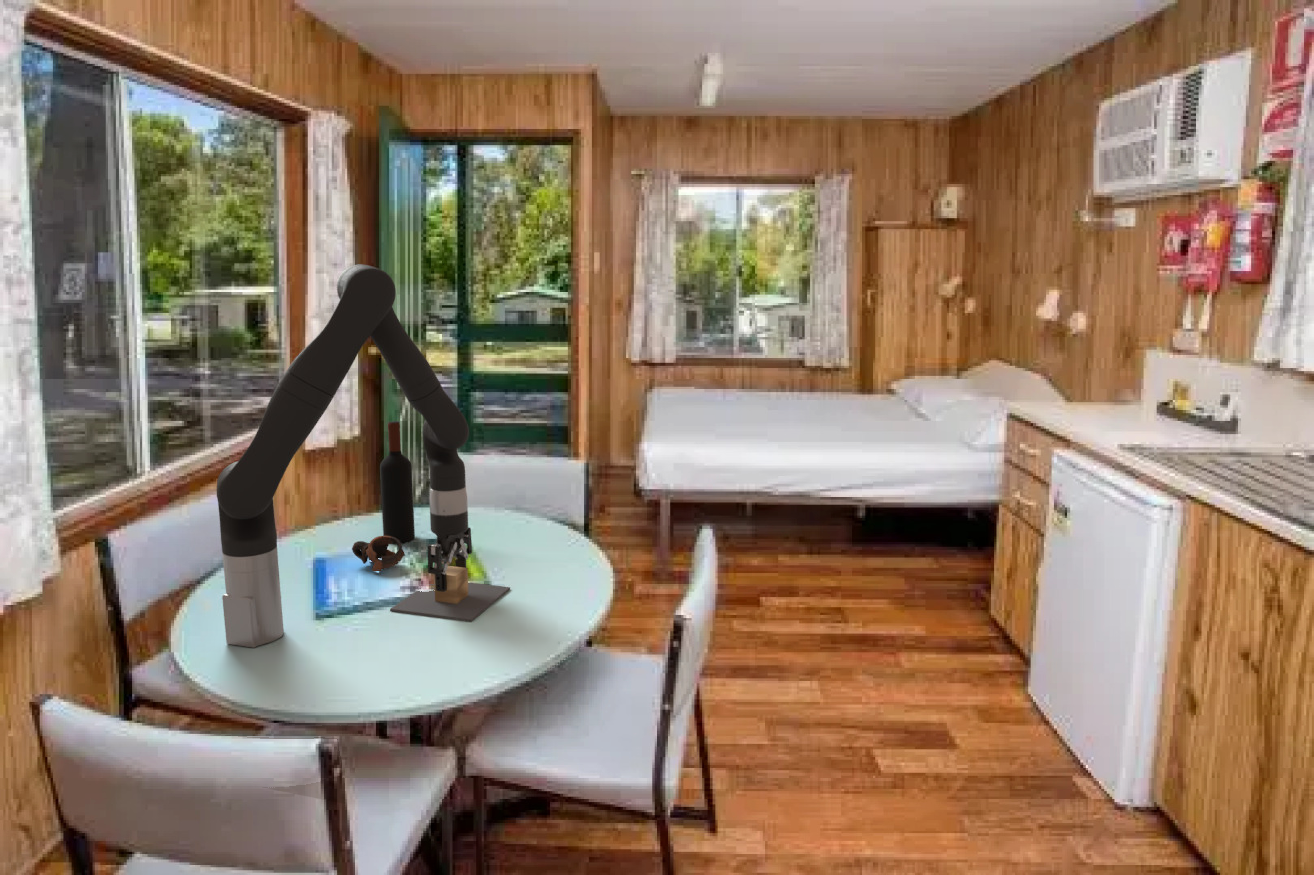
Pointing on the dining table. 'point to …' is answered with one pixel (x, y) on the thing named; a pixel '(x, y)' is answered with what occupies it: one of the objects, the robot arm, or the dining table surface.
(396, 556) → the brown hollow rounded piece
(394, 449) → the wine bottle
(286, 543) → the dining table surface
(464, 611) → the charcoal mat
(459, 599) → the oak block
